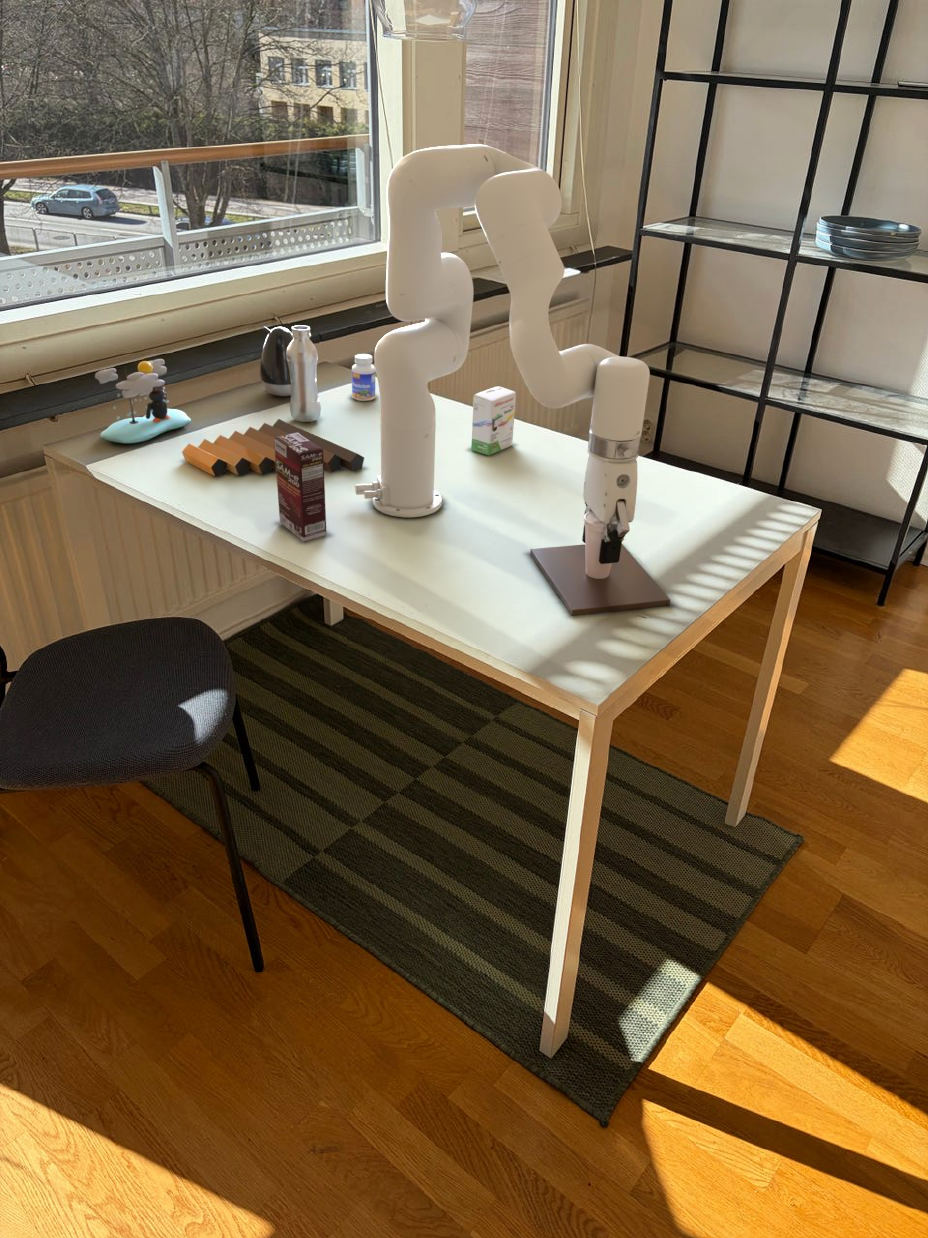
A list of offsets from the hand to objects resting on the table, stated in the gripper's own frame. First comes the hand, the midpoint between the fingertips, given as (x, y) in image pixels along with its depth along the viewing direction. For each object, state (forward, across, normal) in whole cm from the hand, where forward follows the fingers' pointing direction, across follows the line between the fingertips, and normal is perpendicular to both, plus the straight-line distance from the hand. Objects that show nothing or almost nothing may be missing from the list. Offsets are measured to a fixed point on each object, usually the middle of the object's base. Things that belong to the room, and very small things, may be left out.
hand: (600, 550), depth 150 cm
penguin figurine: (+5, +77, +70) cm, 104 cm away
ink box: (+5, +57, +1) cm, 57 cm away
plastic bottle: (+5, +79, +37) cm, 87 cm away
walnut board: (+5, 0, 0) cm, 5 cm away
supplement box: (+5, +26, +44) cm, 51 cm away
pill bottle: (+5, +92, +22) cm, 95 cm away
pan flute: (+5, +55, +46) cm, 72 cm away
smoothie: (+4, 0, 0) cm, 4 cm away
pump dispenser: (+5, +98, +40) cm, 106 cm away
